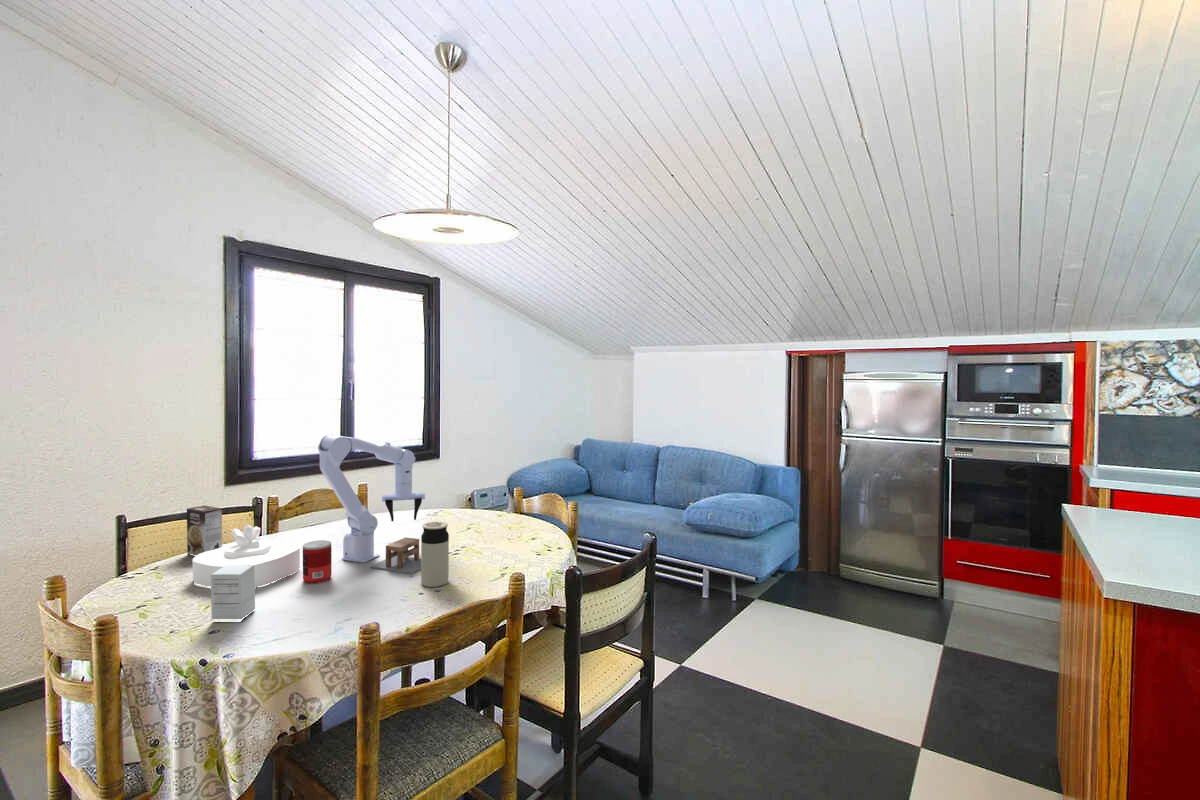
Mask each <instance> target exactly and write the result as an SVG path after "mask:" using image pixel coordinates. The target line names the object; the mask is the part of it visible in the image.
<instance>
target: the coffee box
mask: <svg viewBox="0 0 1200 800" xmlns="http://www.w3.org/2000/svg"><path fill="white" fill-rule="evenodd" d="M222 509H223V508H221V507H217V506H216V507H215V506H210V505H205V504H204V505H200V506H193V507H189V508H188V507H187V508H186V540H187V541H186V546H187V547H186V548H187V549H186V550H187V552H186V553H187V555H188V554H193V555H198V554H201V553H204V552H207V551H211V550H215V549H218V548H221V547H223V545H222V543H223V542H222V541H223V532H222V531H223V526H222V525H223V521H222V520H223V516H222V515H223V510H222Z"/></svg>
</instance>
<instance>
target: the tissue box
mask: <svg viewBox="0 0 1200 800" xmlns="http://www.w3.org/2000/svg"><path fill="white" fill-rule="evenodd" d="M230 534H231V535H232V537H234V541H235V542H234V543H233V542H232V543H229V544H227V545H224V546H222V547H221V548H218V549H215V550H211V551H207V552H204V553H201V554H198V555H197V556H195V557H194V556H193V558H192V582H193V581H194V582H195V583H197V584H201V585H205V586H211V574H213V573H214V572H216V571H218V570H219V569H221V568H222V567H224V566H226V565H254V582H255V587H258V586H262V585H265V584H268V583H271V582H273V581H276V580H278V579H280V578H283V577H285V576H288V575H290V574H293V573H294V572H296V571H298V570H299V568H300V569H301V548H300V545H299V544H297V543H295V542H290V541H289V542H288V541H287V542H286V541H277V540H272V539H261V538H260V537H259V536H260V534H261V527H258V526H257V525H256V526H254V527H253V526H252V525H249V524H246V525H245V526H243V528H242V531H241V530H240V529H237V528H235V527H234V528H233V529H232V530H231V531H230ZM299 571H300V570H299ZM299 571H298V572H299Z"/></svg>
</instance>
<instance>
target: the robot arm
mask: <svg viewBox="0 0 1200 800" xmlns="http://www.w3.org/2000/svg"><path fill="white" fill-rule="evenodd" d="M317 449H318V453H319V456H318V457H319V470H320V472H321V473H322V475H323V476H324V478H325V480H326V481H327V483H328V484H329V486H330V488H331V489H332V491H333V492H334V494H335V496H336V497H337V498H338V501H339V502H340V504H341V505H342V506H343V508H344V510H345V516H346V518H347V519H346V520H347V525H348V527H349V528H350V530H349V531H348V532H346V533H345V534H344V537H343V540H342V544H343V545H342V547H343V549H342V551H343V554H342V557H341V560H343V561H344V560H345V561H349V562H350V561H351V562H356V563H366V562H370V561H371V560H373V559H375V558H377V557H380V556H381V555H380V554H378V553H375V546H374V545H375V530H376V529H377V527H378V524H379V523H378V519H377V517H376V516H375V515H373V514H371V512H370V511H369V510H368V509H367V508H366V507H365V506H364V505H363V504H362V502H361V500H360V499H359V497H358V496H357V494H356V493H355V491H354V489H353V487H352V486H351V484H350V482H349V480H347V478H346V476H345V474H344V472H343V471H342V470H341V468H340V466H341V464H342V462H343V460H344V459H345V458H346V457H347V456H348V454H349V453H350V452H351V453H352V452H355V451H356V450H357V451H361V452H366V453H370V454H373V455H374V456H375V458H376V459H377V460H380V461H385V462H388V463H392V464H394V470H395V472H394V474H395V475H394V476H395V477H394V489H395V490H394V491H395V493H391V494H381V495H382V496H381V502H382V503H384V502H385V506H386V509H387V510H388V512H389V516H390V521H391V522H394V518H395V517H394V502H395V501H397V502H398V501H411V500H412V501H413V500H414V504H413V505H414V512H413V520H414V521H416V520H417V515H418V511H419V509H420V507H421V505H422V501H423V500H426V492H424V493H423V492H421V493H419V492H413V465H414V463H415V462H416V456H415V454H414V453H413V451H412V450H409V449H404V448H403V447H402V446H399V445H398V446H395V445H391V443H390V442H387V441H385V442H381V443H379V444H375V443H371V442H368V441H365V440H362V439H359V438H356V437H349V436H342V435H335V434H330V433H329V434H326V435H324V436H323V437H322V438H321V439H320V441H319V444H318V446H317Z"/></svg>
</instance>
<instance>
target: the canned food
mask: <svg viewBox="0 0 1200 800" xmlns="http://www.w3.org/2000/svg"><path fill="white" fill-rule="evenodd" d="M331 578H332V542H331V541H330V540H327V539H326V540H325V539H322V540H312V541H309V542H306V543H304V544H303V545H302V580H303V582H304V581H305V582H307V583H306V584H311V583H312V584H319V583H318V582H321V583H324V582H327V581H329V580H330V579H331ZM328 579H329V580H328ZM326 580H327V581H326ZM323 581H324V582H323ZM305 582H304V583H305Z"/></svg>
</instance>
